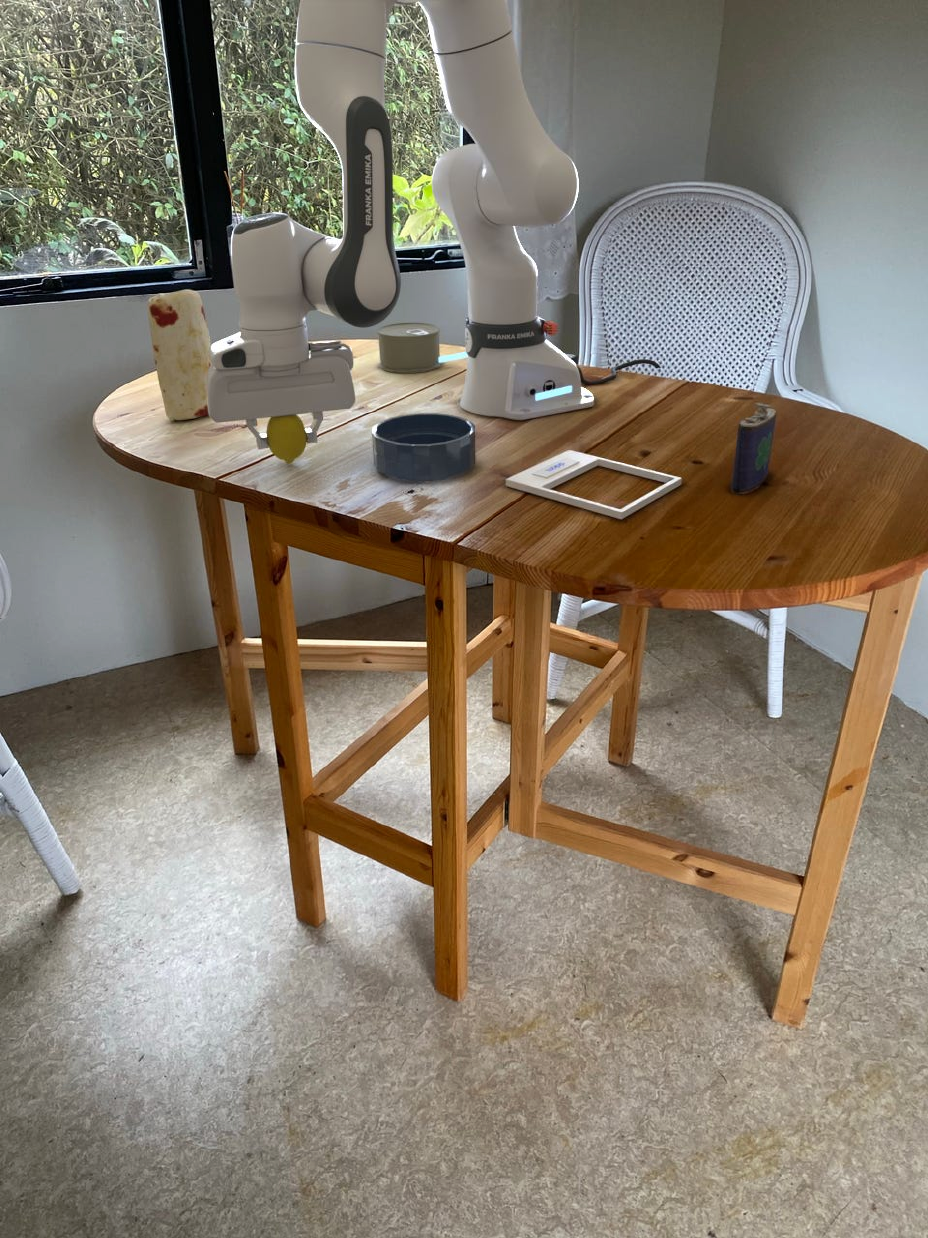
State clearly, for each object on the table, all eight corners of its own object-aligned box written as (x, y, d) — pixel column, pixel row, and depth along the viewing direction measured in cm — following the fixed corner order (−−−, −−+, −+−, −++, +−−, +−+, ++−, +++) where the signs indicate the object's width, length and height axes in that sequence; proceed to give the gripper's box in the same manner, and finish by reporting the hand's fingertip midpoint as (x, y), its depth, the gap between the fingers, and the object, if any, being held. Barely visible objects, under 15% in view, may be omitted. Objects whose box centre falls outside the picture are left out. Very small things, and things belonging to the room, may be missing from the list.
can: (416, 354, 186) (414, 319, 182) (453, 365, 178) (452, 329, 174) (367, 365, 179) (364, 328, 176) (403, 376, 171) (401, 339, 168)
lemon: (301, 471, 129) (295, 415, 125) (264, 468, 130) (256, 413, 126) (314, 457, 134) (309, 403, 130) (278, 455, 135) (272, 401, 131)
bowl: (458, 444, 137) (457, 408, 135) (489, 477, 125) (488, 438, 123) (365, 456, 134) (362, 419, 131) (387, 490, 122) (385, 450, 119)
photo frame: (569, 448, 131) (681, 476, 121) (569, 455, 132) (681, 484, 121) (505, 477, 122) (621, 510, 111) (505, 485, 122) (621, 519, 112)
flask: (752, 470, 126) (764, 392, 120) (773, 474, 124) (786, 396, 119) (726, 491, 119) (737, 410, 114) (748, 496, 118) (760, 414, 113)
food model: (178, 427, 147) (155, 297, 137) (156, 419, 151) (132, 292, 141) (229, 413, 153) (211, 287, 143) (206, 406, 157) (187, 283, 147)
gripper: (347, 334, 129) (354, 430, 136) (197, 347, 124) (213, 446, 130) (356, 344, 123) (363, 443, 130) (200, 358, 118) (216, 460, 125)
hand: (287, 444), depth 130 cm, fingers closed on lemon, 5 cm apart
